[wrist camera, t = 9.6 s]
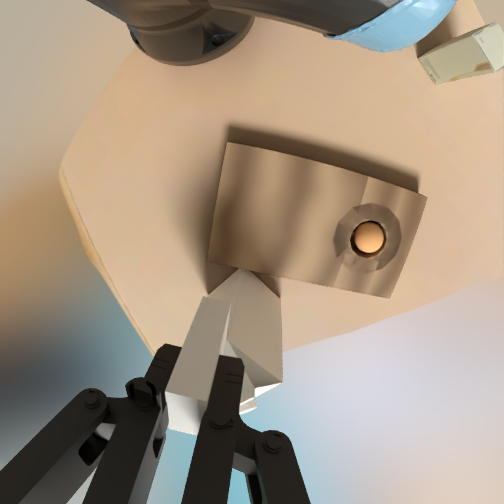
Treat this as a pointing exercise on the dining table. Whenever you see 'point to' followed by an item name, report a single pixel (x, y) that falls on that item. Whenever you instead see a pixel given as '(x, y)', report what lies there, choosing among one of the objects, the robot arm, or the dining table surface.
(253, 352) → the milk carton
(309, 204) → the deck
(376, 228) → the ball
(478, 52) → the skincare box
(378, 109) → the dining table surface
